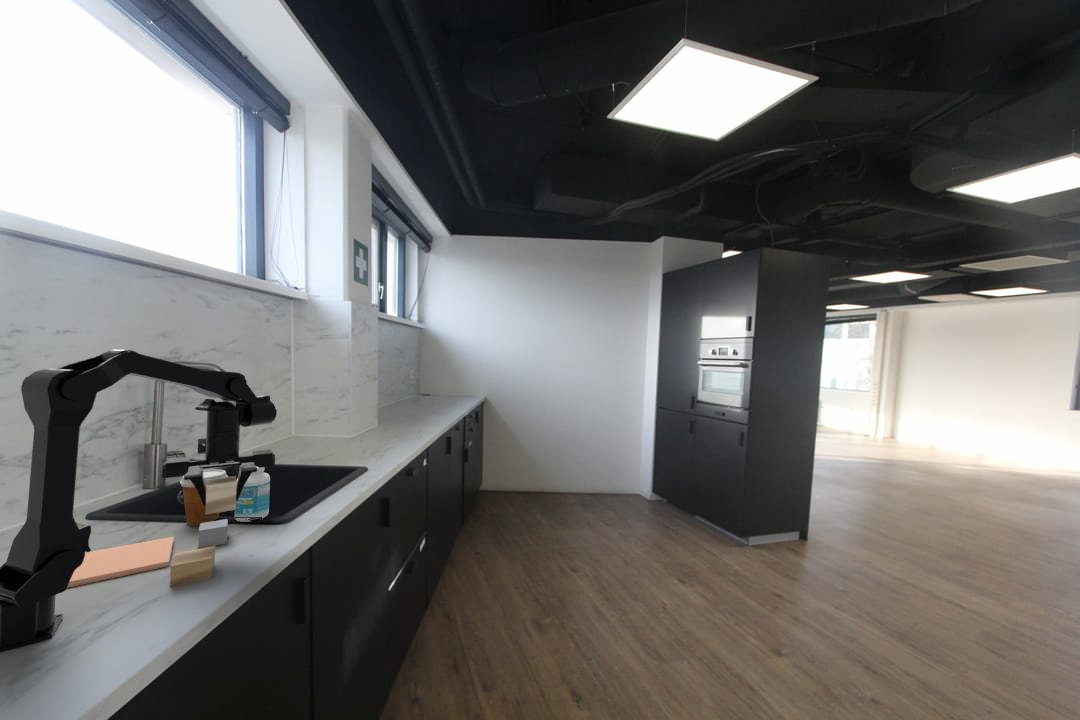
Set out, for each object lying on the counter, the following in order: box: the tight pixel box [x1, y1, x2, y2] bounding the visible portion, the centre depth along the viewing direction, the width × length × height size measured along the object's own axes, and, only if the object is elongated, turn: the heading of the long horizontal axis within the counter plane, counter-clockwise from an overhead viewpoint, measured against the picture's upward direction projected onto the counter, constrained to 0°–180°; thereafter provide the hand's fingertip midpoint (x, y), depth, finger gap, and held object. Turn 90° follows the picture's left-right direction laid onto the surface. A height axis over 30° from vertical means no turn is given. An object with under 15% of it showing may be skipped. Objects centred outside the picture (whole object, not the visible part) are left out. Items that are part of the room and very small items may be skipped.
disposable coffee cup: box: [179, 469, 229, 526], centre depth 105 cm, size 10×10×12 cm
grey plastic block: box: [197, 518, 229, 549], centre depth 94 cm, size 5×5×4 cm
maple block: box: [205, 475, 237, 515], centre depth 88 cm, size 5×5×6 cm
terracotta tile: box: [66, 536, 175, 589], centre depth 83 cm, size 14×14×1 cm
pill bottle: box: [234, 466, 271, 523], centre depth 108 cm, size 8×7×14 cm
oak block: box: [169, 545, 216, 588], centre depth 79 cm, size 6×6×4 cm
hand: (220, 502), depth 88 cm, fingers closed on maple block, 5 cm apart
